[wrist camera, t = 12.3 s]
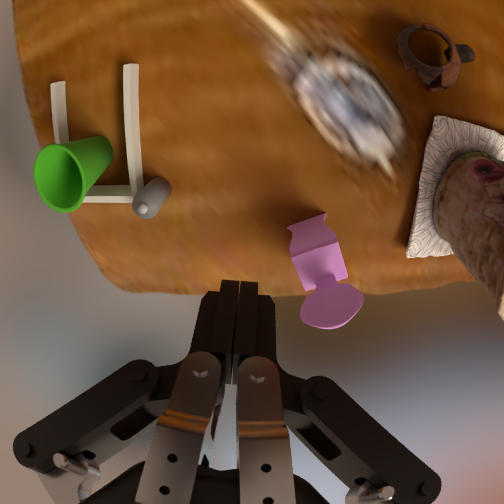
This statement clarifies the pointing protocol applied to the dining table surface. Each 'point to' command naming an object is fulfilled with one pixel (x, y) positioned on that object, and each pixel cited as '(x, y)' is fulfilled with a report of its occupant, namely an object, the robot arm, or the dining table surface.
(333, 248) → the toy chair
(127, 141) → the bay
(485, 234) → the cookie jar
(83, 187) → the cup
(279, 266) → the dining table surface
